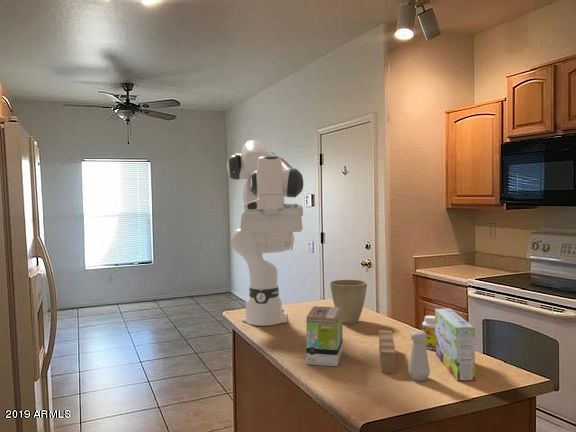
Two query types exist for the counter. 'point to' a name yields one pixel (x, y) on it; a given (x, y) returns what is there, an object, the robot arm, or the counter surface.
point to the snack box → (455, 344)
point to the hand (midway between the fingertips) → (272, 247)
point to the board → (387, 352)
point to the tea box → (324, 336)
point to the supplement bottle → (429, 332)
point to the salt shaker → (419, 357)
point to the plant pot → (349, 298)
